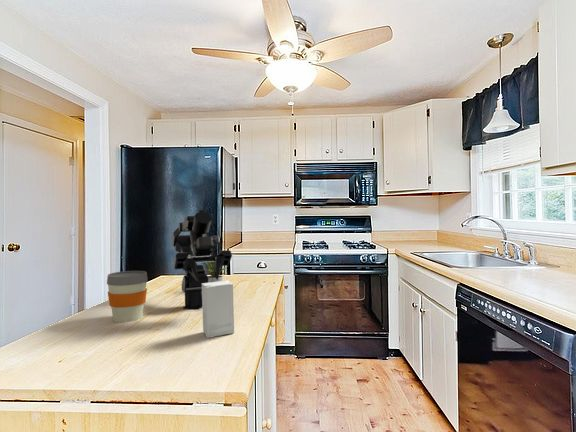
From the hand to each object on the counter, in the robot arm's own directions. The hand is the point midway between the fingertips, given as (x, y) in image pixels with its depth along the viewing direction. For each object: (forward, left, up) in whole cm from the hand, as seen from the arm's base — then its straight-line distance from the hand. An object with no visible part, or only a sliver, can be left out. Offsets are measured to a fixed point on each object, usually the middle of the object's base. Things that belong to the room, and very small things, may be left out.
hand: (207, 279), depth 115 cm
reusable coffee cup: (-28, +1, -14) cm, 31 cm away
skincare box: (+7, -11, -14) cm, 19 cm away
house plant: (-12, +45, -14) cm, 49 cm away
